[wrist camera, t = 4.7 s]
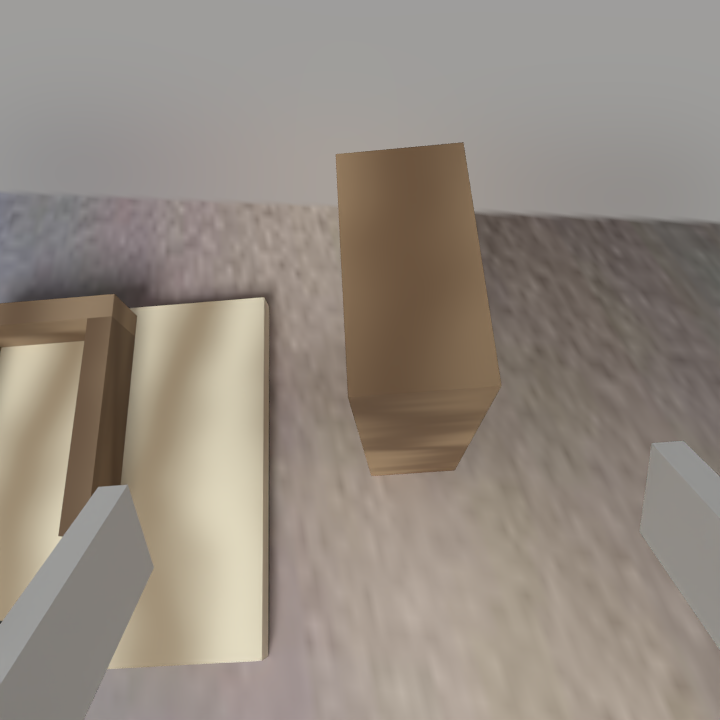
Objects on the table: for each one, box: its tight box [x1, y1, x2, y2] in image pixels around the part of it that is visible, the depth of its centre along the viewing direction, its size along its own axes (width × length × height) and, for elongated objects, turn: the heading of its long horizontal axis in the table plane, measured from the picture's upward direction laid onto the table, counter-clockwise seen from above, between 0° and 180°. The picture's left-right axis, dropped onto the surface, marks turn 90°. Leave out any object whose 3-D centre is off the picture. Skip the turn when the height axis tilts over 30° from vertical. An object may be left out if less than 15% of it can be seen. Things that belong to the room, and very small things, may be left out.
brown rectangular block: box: [336, 142, 501, 476], centre depth 22 cm, size 4×8×13 cm, turn 3°
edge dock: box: [0, 294, 269, 669], centre depth 26 cm, size 22×17×4 cm
